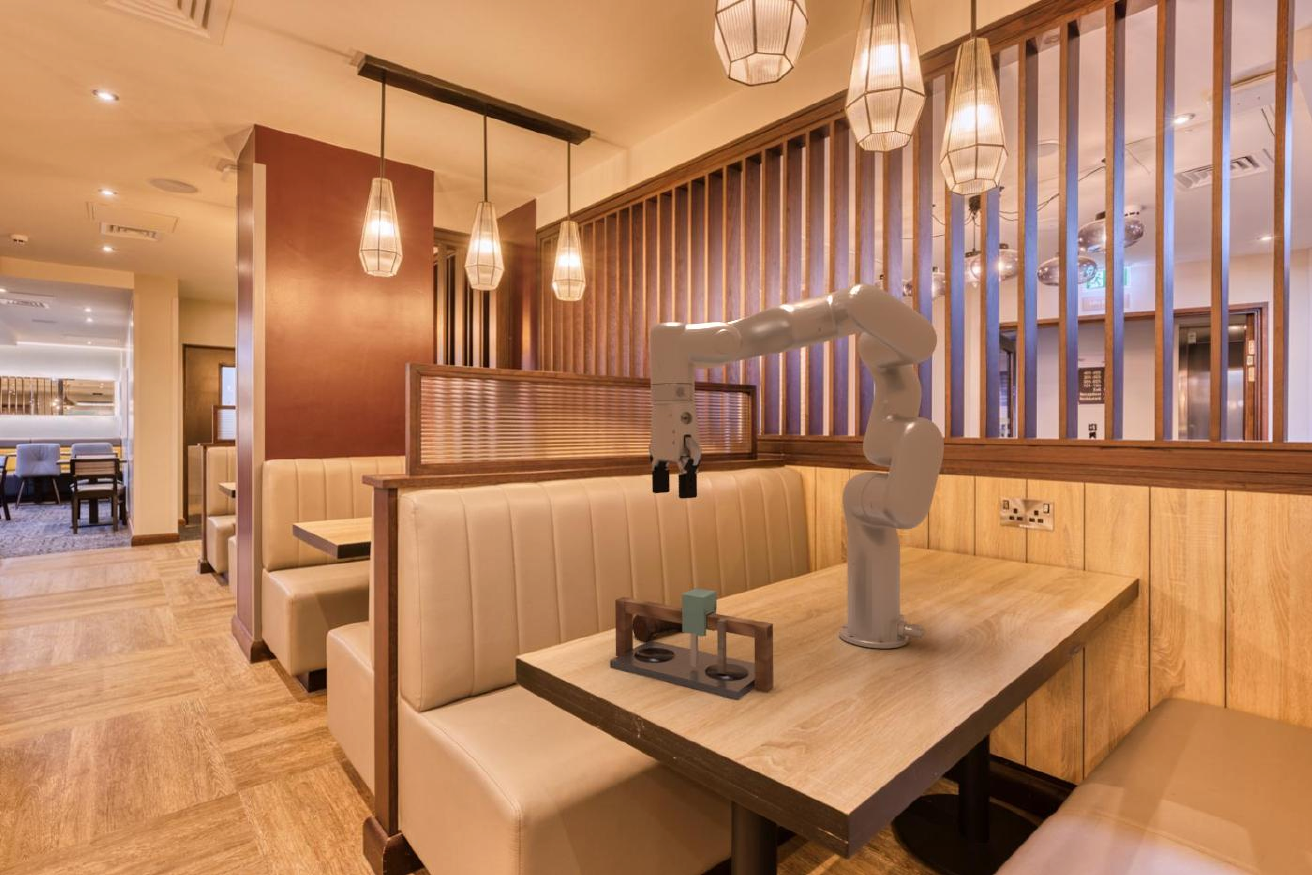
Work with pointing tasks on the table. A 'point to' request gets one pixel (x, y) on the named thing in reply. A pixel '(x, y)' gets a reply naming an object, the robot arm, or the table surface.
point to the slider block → (696, 617)
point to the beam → (713, 621)
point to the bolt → (652, 627)
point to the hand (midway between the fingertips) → (674, 495)
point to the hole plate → (688, 669)
